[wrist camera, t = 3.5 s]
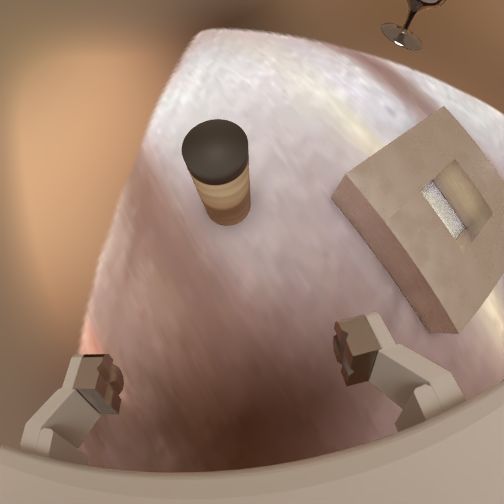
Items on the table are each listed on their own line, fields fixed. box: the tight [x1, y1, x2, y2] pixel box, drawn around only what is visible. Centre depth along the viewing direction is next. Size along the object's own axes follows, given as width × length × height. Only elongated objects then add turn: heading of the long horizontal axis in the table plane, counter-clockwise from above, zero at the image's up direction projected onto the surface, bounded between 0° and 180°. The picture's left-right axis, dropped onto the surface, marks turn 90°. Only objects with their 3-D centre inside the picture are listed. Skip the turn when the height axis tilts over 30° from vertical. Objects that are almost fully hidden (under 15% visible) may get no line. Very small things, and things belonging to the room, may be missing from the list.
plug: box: [182, 119, 250, 225], centre depth 22 cm, size 4×4×10 cm
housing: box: [331, 106, 504, 334], centre depth 24 cm, size 16×16×5 cm
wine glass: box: [381, 0, 447, 50], centre depth 26 cm, size 8×8×15 cm
